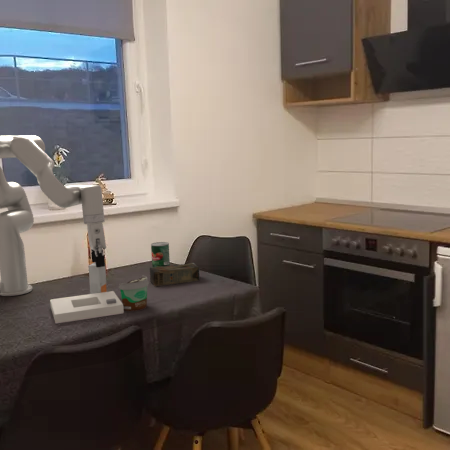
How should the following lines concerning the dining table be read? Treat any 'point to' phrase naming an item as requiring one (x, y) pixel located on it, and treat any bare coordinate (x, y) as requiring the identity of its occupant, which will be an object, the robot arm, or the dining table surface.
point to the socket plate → (85, 306)
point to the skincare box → (97, 279)
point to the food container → (134, 294)
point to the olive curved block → (174, 274)
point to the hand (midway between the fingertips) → (98, 264)
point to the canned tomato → (160, 254)
